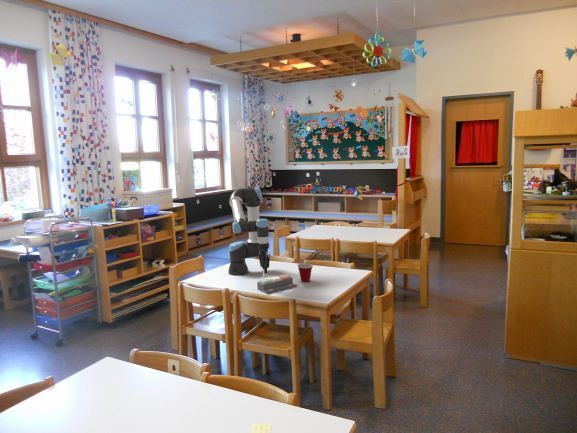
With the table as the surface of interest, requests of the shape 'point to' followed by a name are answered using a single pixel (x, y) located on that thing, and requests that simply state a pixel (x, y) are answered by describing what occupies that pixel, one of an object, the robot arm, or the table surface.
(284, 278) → the terracotta key
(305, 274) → the plastic cup
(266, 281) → the sage key
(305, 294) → the table surface
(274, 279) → the cream key
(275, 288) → the keypad
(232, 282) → the table surface
